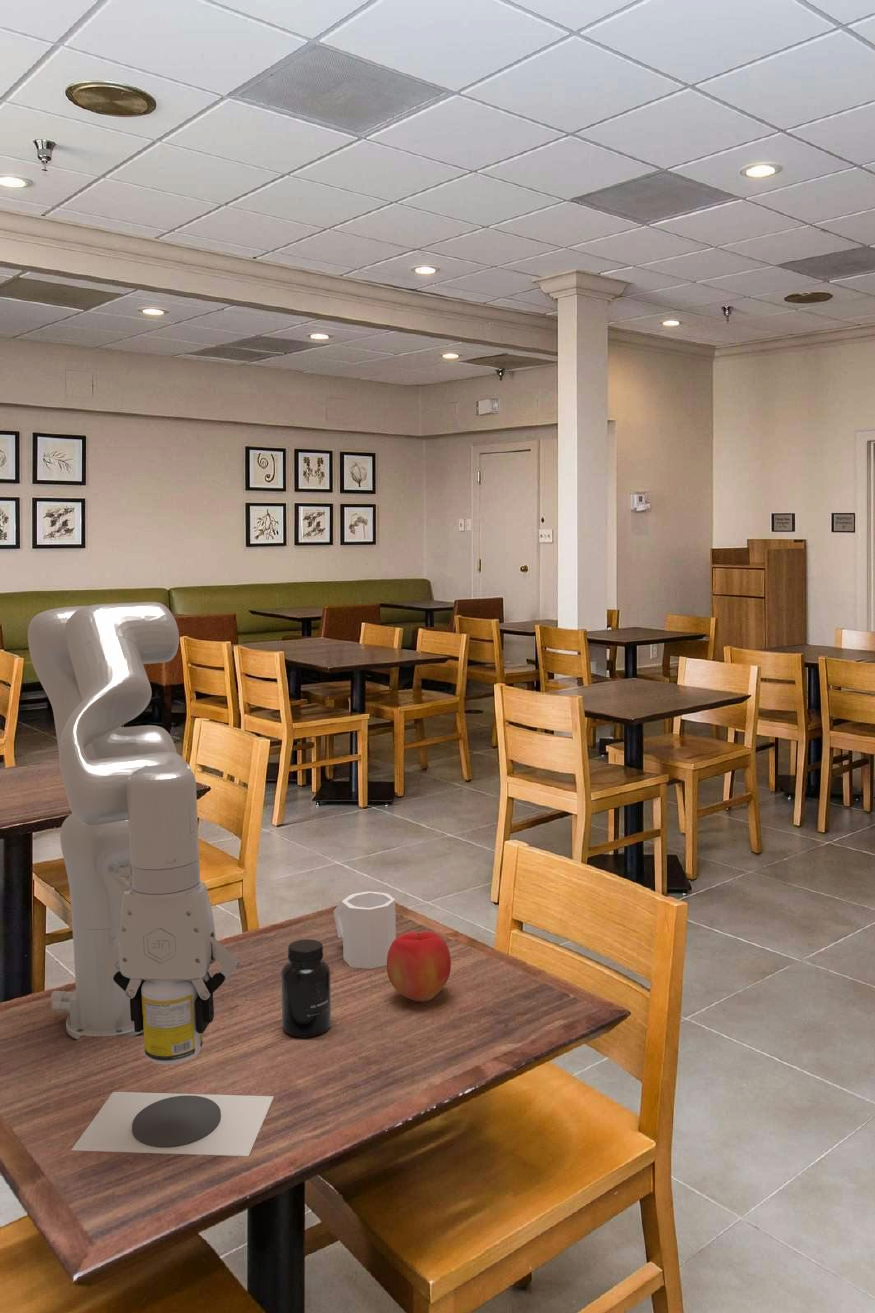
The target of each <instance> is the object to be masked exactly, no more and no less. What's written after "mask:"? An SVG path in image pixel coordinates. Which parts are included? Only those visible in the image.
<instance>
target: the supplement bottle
mask: <svg viewBox="0 0 875 1313" xmlns="http://www.w3.org/2000/svg"><path fill="white" fill-rule="evenodd" d="M323 947H324V946H323V943H322V942H321V941H319V940H316V939H310V938H309V939H308V938H307V939H304V938H303V939H298V940H295V941H292V942H291V943H290V944H289V945H288V950H287V952H288V954H287V960H288V961H287V962H286V963H285V964H284V965H283V967H282V969H281V976H280V977H281V978H280V979H281V1018H282V1019H281V1021H282V1022H281V1023H282V1028H283V1030H284V1032H285V1033H286V1034H288V1035H290V1036H292V1037H296V1038H312V1037H317V1036H319V1035H322V1034H324V1033H325V1032H327V1031H328V1030H329V1029H330V1026H331V1022H332V1021H331V1020H332V1018H331V1016H332V1006H331V1005H332V1004H331V1000H332V998H331V997H332V996H331V995H332V994H331V990H332V989H331V969H330V968H331V967H330V966H329V964H328V962H327V961H326V960H324V951H323V950H324V948H323Z"/></svg>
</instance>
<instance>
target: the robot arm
mask: <svg viewBox="0 0 875 1313" xmlns="http://www.w3.org/2000/svg"><path fill="white" fill-rule="evenodd" d="M179 632H180V631H179V627H178V624H177V621H176V619H175V617H174V615H173V613H172V611H171V610H170V609H169V608H168V607H167V606H166V605H165V604H163V603H161V602H157V601H141V602H117V603H113V602H112V603H99V604H92V605H77V606H75V605H74V606H65V607H57V608H52V609H47V610H44V611H42V612H40V613H38V614H36V615H35V616H33V617H32V619H31V620H30V622H29V624H28V629H27V641H28V643H27V644H28V651H29V655H30V659H31V663H32V666H33V669H34V671H35V674H36V677H37V678H38V680H39V682H40V684H41V686H42V688H43V690H44V692H45V694H46V696H47V699H48V700H49V702H50V705H51V708H52V712H53V720H54V725H55V726H54V727H55V733H56V741H57V748H58V763H59V764H58V765H59V770H60V774H61V778H62V783H63V787H64V792H65V796H66V799H67V803H68V806H69V810H70V812H71V814H69V815H68V816H66V818H65V819H64V821H63V822H62V824H61V828H60V831H59V838H60V839H59V841H60V848H61V853H62V857H63V860H64V865H65V871H66V875H67V881H68V888H69V895H70V896H69V899H70V908H71V910H70V911H71V913H70V914H71V925H72V926H71V928H72V940H73V941H72V944H73V963H74V964H73V965H74V980H75V989H74V990H73V991H66V990H63V991H62V990H54V991H52V993H51V995H50V1004H51V1011H52V1012H67V1013H69V1015H68V1016H67V1018H66V1020H65V1024H66V1025H65V1026H66V1032H67V1034H68V1035H69V1036H70V1037H72V1038H73V1039H76V1040H79V1039H80V1038H81V1037H82V1036H88V1037H108V1036H109V1037H110V1036H111V1037H112V1036H114V1037H136V1036H138V1035H139V1034H142V1033H144V1029H143V1012H142V993H141V988H142V984H143V982H144V981H145V980H178V981H189V980H192V982H193V984H194V986H195V988H196V990H197V992H198V997H197V999H196V1000H195V1016H196V1032H198V1033H202V1034H204V1033H205V1031H206V1029H207V1027H208V1026H209V1024H211V1023H212V1022H213V1020H214V1018H215V1017H214V1016H215V1010H214V992H216V991H217V990H218V989H219V988H220V987H221V985H223V983H224V982H225V981H226V980H227V979H228V978H229V977H230V976H231V975H232V974H233V972H234V971H235V970H237V967H238V966H239V964H240V960H239V959H238V957H237V956H235V955H234V954H233V953H232V952H230V951H229V950H228V949H227V948H226V947H225V946H224V945H223V944H222V943H220V942H219V940H217V937H216V929H215V920H214V915H213V914H214V913H213V908H212V904H211V903H212V902H211V898H210V895H209V892H208V888H207V885H206V883H205V882H203V881H201V871H200V870H201V868H200V867H201V865H200V846H199V845H200V844H199V824H198V804H197V803H198V800H197V780H196V776H195V774H194V772H193V771H192V768H191V766H190V764H189V763H188V762H187V761H186V760H185V759H184V757H182V755H180V754H178V751H177V748H176V746H175V742H174V740H173V738H172V737H171V734H170V733H169V732H168V731H167V730H166V729H165V728H163V727H162V726H158V725H152V724H151V725H150V724H147V725H136V726H126V727H122V726H123V725H125V724H127V723H128V722H130V721H132V720H134V719H136V718H137V717H139V715H141V714H142V713H143V712H144V711H145V709H146V708H147V707H148V705H149V704H150V702H151V699H152V695H153V694H152V693H153V692H152V687H151V683H150V681H149V677H148V674H147V672H146V669H145V665H151V664H160V663H163V664H164V663H169V662H171V661H173V659H174V658H175V656H176V655H177V652H178V649H179V644H180V633H179ZM127 879H128V880H127ZM216 962H218V963H219V964H220V966H221V968H219V969H218V971H216V973H214V975H213V974H212V971H211V969H210V968H211V965H213V964H214V963H216Z"/></svg>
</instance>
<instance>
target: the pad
mask: <svg viewBox="0 0 875 1313" xmlns="http://www.w3.org/2000/svg"><path fill="white" fill-rule="evenodd" d="M220 1120H221V1110H220V1108H219V1106H218V1105H217V1104H216V1103H215V1102H214V1101H212V1100H210V1099H208V1098H205V1097H200V1096H191V1095H185V1096H175V1097H170V1098H166V1099H163V1100H160V1101H157V1102H155V1103H152V1104H151V1105H149V1106H147V1107H145V1108H144V1109H143V1110H141V1111H140V1112H139V1113H138V1114H137V1115H136V1117H135V1118H134V1120H133V1123H132V1132H133V1135H134V1137H135V1138H136V1139H137V1140H138V1141H139V1142H141V1143H143V1144H145V1145H148V1146H153V1147H161V1148H169V1147H178V1146H183V1145H187V1144H190V1143H193V1142H196V1141H198V1140H200V1139H202V1138H204V1137H206V1136H207V1135H209V1134H210V1133H212V1132H213V1131H214V1130H215V1129H216V1127H217V1126H218V1125H219V1123H220Z"/></svg>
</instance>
